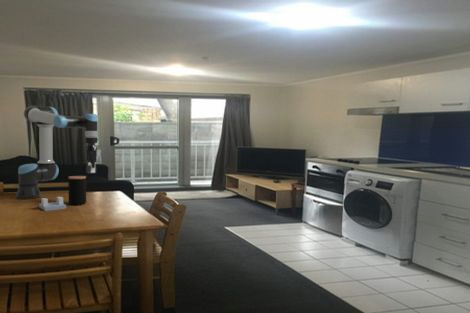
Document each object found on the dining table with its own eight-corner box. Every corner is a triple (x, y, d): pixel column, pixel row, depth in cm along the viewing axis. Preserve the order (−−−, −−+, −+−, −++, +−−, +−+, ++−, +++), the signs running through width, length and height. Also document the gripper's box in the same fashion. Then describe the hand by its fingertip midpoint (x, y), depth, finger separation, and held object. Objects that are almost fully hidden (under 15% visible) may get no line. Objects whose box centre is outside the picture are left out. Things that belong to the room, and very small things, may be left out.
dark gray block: (86, 172, 247) (86, 165, 247) (93, 172, 251) (93, 165, 250) (88, 173, 244) (88, 165, 244) (96, 173, 248) (96, 165, 247)
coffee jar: (89, 202, 247) (89, 176, 246) (81, 206, 237) (80, 178, 236) (74, 202, 248) (73, 175, 247) (65, 205, 238) (65, 177, 237)
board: (39, 206, 231) (38, 197, 231) (59, 204, 239) (59, 195, 239) (44, 210, 221) (44, 201, 220) (66, 208, 229) (66, 198, 228)
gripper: (81, 136, 250) (81, 171, 252) (90, 137, 237) (90, 174, 239) (92, 136, 255) (92, 170, 257) (101, 137, 242) (101, 173, 244)
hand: (91, 172), depth 248 cm, fingers closed on dark gray block, 4 cm apart
